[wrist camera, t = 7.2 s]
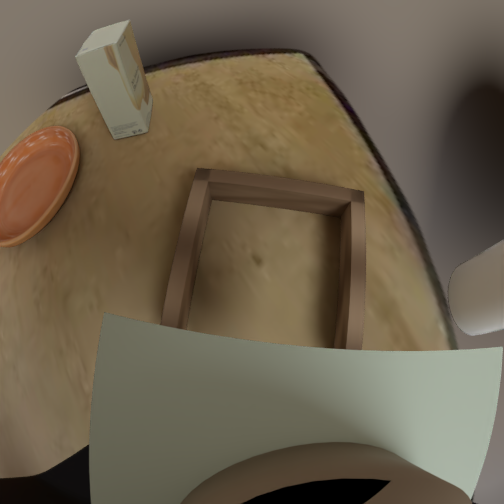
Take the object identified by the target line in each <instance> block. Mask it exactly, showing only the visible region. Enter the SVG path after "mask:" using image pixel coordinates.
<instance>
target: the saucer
mask: <svg viewBox="0 0 504 504" xmlns="http://www.w3.org/2000/svg"><path fill="white" fill-rule="evenodd" d="M79 159H80V150H79V145H78V142H77V139H76V137H75V135H74V134H73V132H72V131H70V130H69V129H67V128H65V127H62V126H50V127H46V128H43V129H40V130H38V131H36V132H34V133H32V134H30V135H29V136H27V137H26V138H24V139H23V140H22V141H21V142H19V143H18V144H17V145H16V146H15V147H14V148H13V149H12V150H11V151H10V152H9V153H8V154H7V155H6V156H5V158H4V159H3V160H2V161H1V163H0V247H13V246H17V245H19V244H21V243H23V242H25V241H27V240H28V239H30V238H31V237H33V236H34V235H36V234H37V233H38V232H39V231H40V230H42V229H43V228H44V227H45V226H46V225H47V224H48V223H49V222H50V221H51V219H52V218H53V217H54V216H55V214H56V213H57V212H58V210H59V209H60V207H61V206H62V204H63V203H64V201H65V199H66V197H67V196H68V194H69V192H70V189H71V187H72V185H73V182H74V179H75V177H76V174H77V170H78V166H79Z"/></svg>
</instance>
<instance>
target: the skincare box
mask: <svg viewBox="0 0 504 504" xmlns="http://www.w3.org/2000/svg"><path fill="white" fill-rule="evenodd" d="M75 58H76V60H77V63H78V65H79V67H80V69H81V72H82V74H83V76H84V79H85V80H86V83H87V85H88V87H89V89H90V92H91V94H92V96H93V98H94V100H95V102H96V104H97V106H98V108H99V110H100V112H101V114H102V116H103V119H104V121H105V123H106V125H107V127H108V129H109V131H110V133H111V135H112V137H113V138H114V139H119V138H124V137H129V136H133V135H138V134H142V133H146V132H148V128H149V123H150V118H151V111H152V103H153V99H152V96H151V93H150V90H149V86H148V83H147V80H146V77H145V73H144V70H143V66H142V63H141V59H140V56H139V52H138V49H137V45H136V41H135V38H134V34H133V30H132V27H131V23H130V20H127V21H123V22H119V23H116V24H113V25H110V26H106V27H103V28H100V29H97V30H95V31H93V32H92V34H91V35H90V36H89V38H88V39H87V40H86V41H85V42H84V44H83V46H82V48H81V49H80V50H79V52H78V53H77V55H76V56H75Z"/></svg>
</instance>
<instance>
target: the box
mask: <svg viewBox="0 0 504 504" xmlns="http://www.w3.org/2000/svg"><path fill="white" fill-rule="evenodd" d="M212 200H219V201H228V202H236V203H245V204H253V205H260V206H268V207H275V208H283V209H290V210H297V211H303V212H310V213H316V214H323V215H329V216H335V217H341V236H340V269H339V289H338V305H337V318H336V329H335V340H334V349H347V350H362V340H363V327H364V312H365V288H366V225H365V202H364V191H359V190H354V189H349V188H344V187H338V186H333V185H327V184H321V183H315V182H309V181H303V180H296V179H289V178H282V177H275V176H268V175H260V174H252V173H243V172H234V171H224V170H214V169H202V168H197V170H196V173H195V177H194V180H193V184H192V188H191V191H190V195H189V199H188V202H187V206H186V210H185V214H184V218H183V222H182V226H181V230H180V234H179V238H178V242H177V247H176V251H175V255H174V260H173V264H172V269H171V273H170V278H169V283H168V288H167V293H166V298H165V303H164V308H163V313H162V319H161V324H160V325H162V326H167V327H172V328H177V329H183V330H186V328H187V322H188V316H189V310H190V305H191V299H192V294H193V288H194V283H195V278H196V272H197V267H198V262H199V257H200V252H201V247H202V243H203V238H204V233H205V229H206V224H207V219H208V215H209V210H210V206H211V201H212Z"/></svg>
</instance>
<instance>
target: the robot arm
mask: <svg viewBox="0 0 504 504" xmlns="http://www.w3.org/2000/svg"><path fill="white" fill-rule="evenodd" d="M471 502H472V501H471ZM0 504H91V495H90V473H89V445H87V446H86V447H84V448H83V449H81V450H80V451H78V452H77V453H75V454H74V455H72V456H71V457H69V458H67V459H66V460H64V461H63V462H61V463H59V464H58V465H56V466H54V467H53V468H51V469H49V470H47V471H46V472H43V473H41V474H38V475H34V476H28V477H17V478H0ZM472 504H476V503H474V502H472Z"/></svg>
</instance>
